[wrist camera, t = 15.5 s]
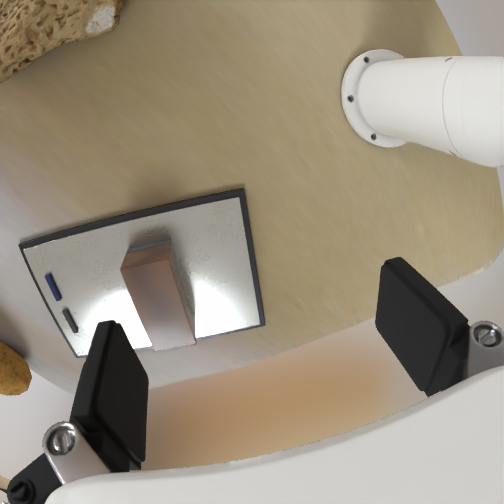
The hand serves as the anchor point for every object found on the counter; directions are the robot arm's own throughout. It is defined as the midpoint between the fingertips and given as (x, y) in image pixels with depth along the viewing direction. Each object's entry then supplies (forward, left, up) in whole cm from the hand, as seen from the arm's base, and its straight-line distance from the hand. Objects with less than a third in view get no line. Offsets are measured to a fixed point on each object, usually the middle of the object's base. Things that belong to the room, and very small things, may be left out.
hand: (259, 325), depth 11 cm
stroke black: (+24, +16, -26) cm, 38 cm away
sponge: (+16, -22, -26) cm, 38 cm away
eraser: (+9, +13, -26) cm, 30 cm away
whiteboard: (+12, +13, -26) cm, 32 cm away
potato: (+42, +20, -26) cm, 54 cm away
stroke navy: (+24, +10, -26) cm, 36 cm away
